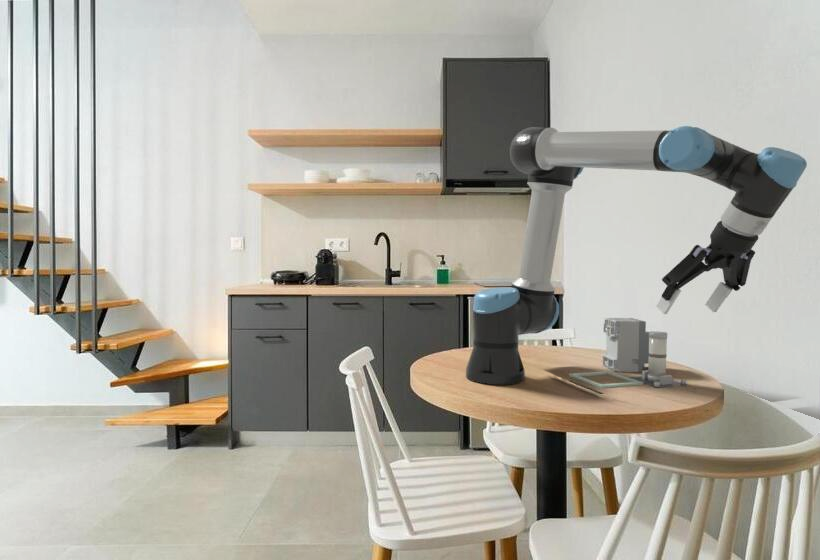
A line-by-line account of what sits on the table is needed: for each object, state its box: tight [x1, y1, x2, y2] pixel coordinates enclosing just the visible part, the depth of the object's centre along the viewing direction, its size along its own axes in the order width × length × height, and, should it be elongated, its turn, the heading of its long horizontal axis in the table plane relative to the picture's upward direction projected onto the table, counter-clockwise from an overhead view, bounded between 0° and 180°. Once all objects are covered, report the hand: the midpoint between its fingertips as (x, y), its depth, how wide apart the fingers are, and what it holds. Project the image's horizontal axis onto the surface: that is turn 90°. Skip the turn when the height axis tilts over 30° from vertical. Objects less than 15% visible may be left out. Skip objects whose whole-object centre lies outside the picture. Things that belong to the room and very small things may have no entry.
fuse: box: [647, 330, 668, 383], centre depth 114 cm, size 4×4×12 cm
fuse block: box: [628, 369, 690, 389], centre depth 114 cm, size 10×10×4 cm
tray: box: [568, 370, 644, 395], centre depth 115 cm, size 12×12×2 cm
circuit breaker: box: [602, 317, 650, 373], centre depth 128 cm, size 8×14×15 cm, turn 89°
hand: (686, 309), depth 105 cm, fingers open, 13 cm apart
